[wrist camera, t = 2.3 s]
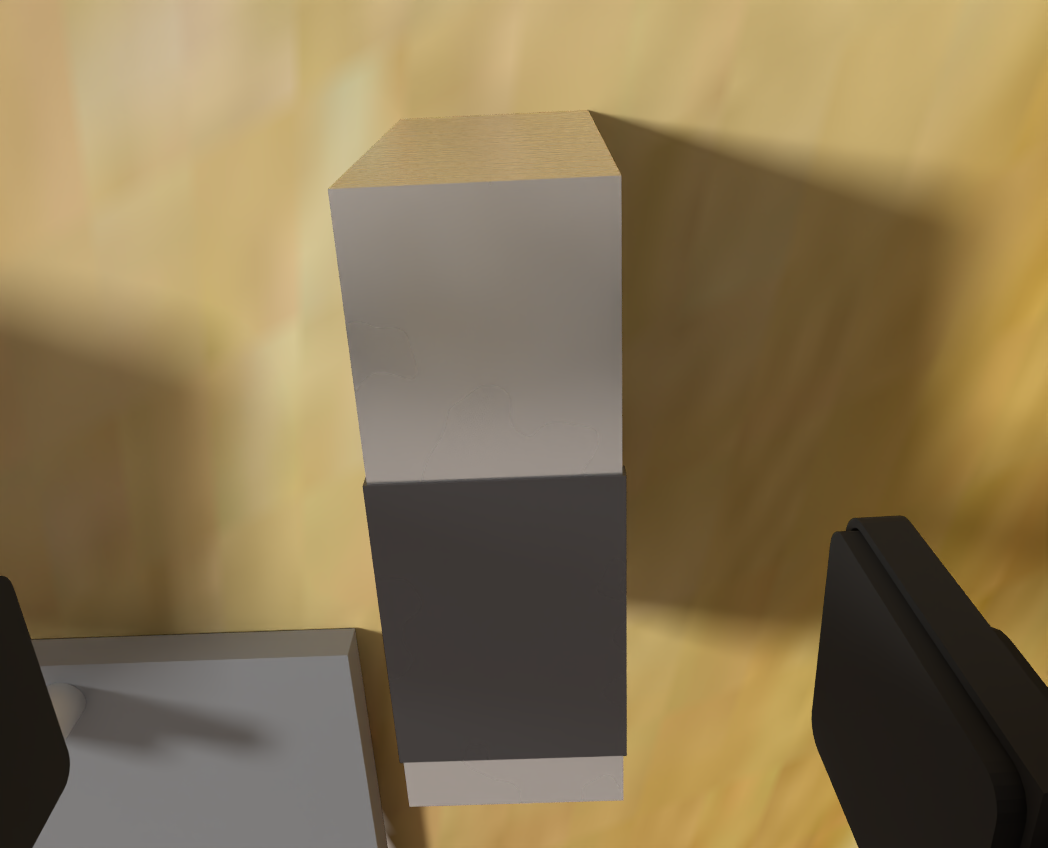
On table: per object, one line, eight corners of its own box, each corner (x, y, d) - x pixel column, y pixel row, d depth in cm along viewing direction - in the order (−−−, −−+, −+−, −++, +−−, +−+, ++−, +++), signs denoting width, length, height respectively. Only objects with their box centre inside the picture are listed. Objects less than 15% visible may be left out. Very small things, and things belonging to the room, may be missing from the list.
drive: (590, 109, 17) (626, 176, 11) (597, 562, 22) (626, 802, 15) (398, 118, 18) (322, 190, 11) (442, 568, 22) (405, 809, 15)
